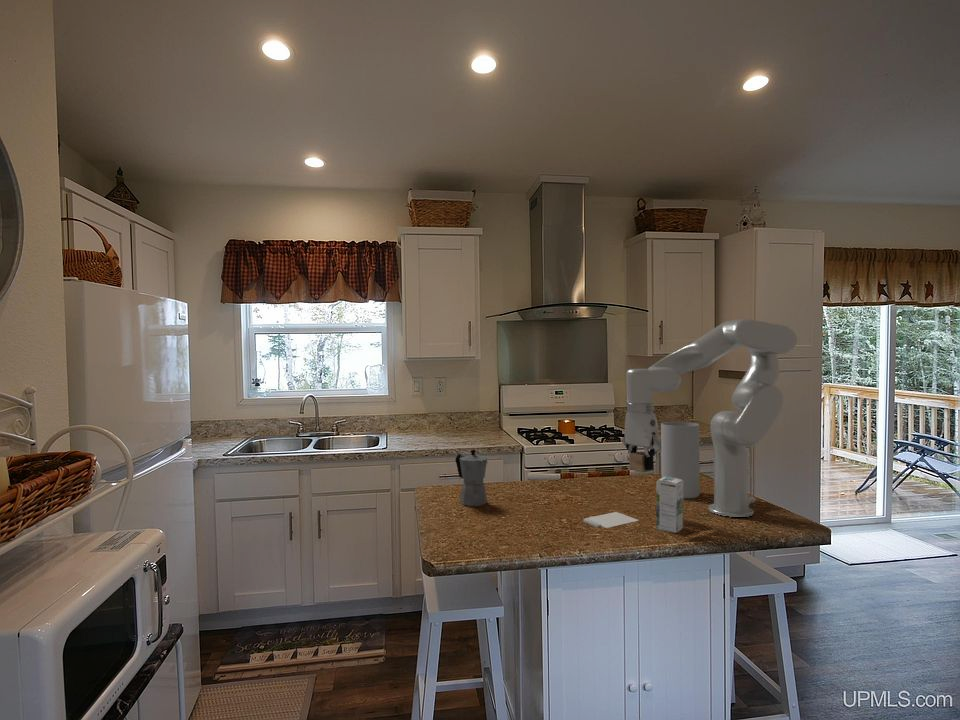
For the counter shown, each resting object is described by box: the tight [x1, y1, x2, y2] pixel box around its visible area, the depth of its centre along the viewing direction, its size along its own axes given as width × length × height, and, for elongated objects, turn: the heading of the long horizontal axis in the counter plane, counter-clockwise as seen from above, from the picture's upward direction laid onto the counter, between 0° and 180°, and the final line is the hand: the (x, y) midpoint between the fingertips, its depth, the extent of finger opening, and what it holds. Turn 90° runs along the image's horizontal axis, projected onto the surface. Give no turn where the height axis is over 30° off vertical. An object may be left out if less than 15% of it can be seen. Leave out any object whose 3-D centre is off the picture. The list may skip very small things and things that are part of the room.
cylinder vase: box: [660, 421, 701, 500], centre depth 178 cm, size 12×12×25 cm
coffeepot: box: [455, 448, 489, 507], centre depth 171 cm, size 15×9×18 cm, turn 44°
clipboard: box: [582, 511, 640, 529], centre depth 148 cm, size 16×12×1 cm
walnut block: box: [628, 451, 655, 473], centre depth 154 cm, size 5×5×5 cm
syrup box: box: [655, 477, 684, 534], centre depth 140 cm, size 6×6×14 cm
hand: (641, 467), depth 154 cm, fingers closed on walnut block, 5 cm apart
